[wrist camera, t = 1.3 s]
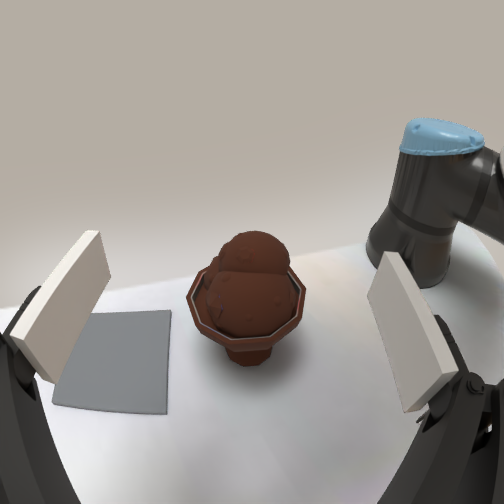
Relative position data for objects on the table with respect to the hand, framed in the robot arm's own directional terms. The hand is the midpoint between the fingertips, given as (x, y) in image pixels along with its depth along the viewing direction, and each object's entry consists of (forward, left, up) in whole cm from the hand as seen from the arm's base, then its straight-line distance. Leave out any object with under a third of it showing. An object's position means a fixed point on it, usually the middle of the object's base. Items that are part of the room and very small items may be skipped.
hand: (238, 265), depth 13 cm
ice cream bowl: (-1, -8, -21) cm, 22 cm away
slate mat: (+16, -7, -21) cm, 27 cm away
